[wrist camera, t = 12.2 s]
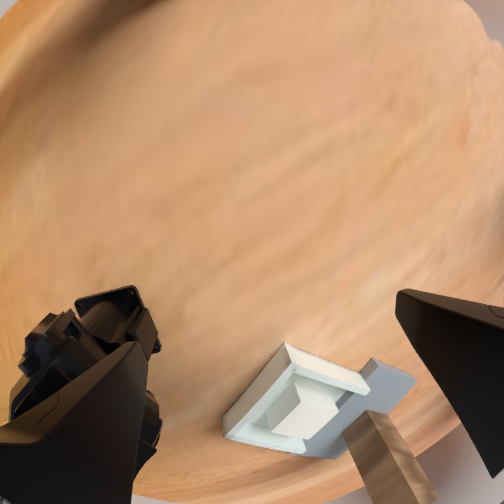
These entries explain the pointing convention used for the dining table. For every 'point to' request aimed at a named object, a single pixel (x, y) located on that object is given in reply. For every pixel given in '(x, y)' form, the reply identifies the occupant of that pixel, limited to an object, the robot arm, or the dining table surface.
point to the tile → (301, 411)
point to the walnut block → (386, 462)
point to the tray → (272, 387)
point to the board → (360, 407)
